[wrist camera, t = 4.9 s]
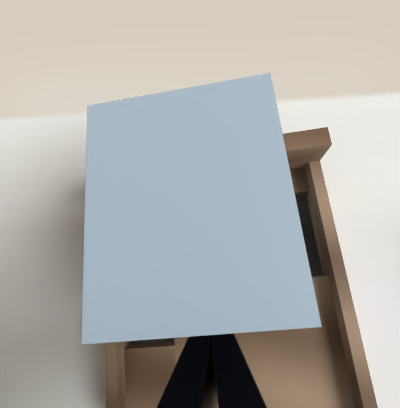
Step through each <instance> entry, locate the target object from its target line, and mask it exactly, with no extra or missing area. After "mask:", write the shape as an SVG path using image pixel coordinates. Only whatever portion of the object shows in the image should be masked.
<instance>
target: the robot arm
mask: <svg viewBox="0 0 400 408" xmlns="http://www.w3.org/2000/svg"><path fill="white" fill-rule="evenodd" d="M217 405H218V407H219V408H267V406H266V404H265V402H264V399H263V397H262V395H261V393H260V391H259V388H258V386H257V384H256V382H255V379H254V377H253V375H252V373H251V370H250V368H249V366H248V364H247V361H246V359H245V357H244V355H243V353H242V350H241V348H240V346H239V344H238V341H237V339H236V337H235V335H234V333H233V334H219V335H205V336H191V337H188V339H187V341H186V343H185V345H184V347H183V350H182V352H181V354H180V356H179V359H178V361H177V363H176V365H175V367H174V370H173V372H172V374H171V376H170V378H169V381H168V383H167V385H166V387H165V390H164V392H163V394H162V396H161V398H160V401H159V403H158V405H157V407H156V408H217Z"/></svg>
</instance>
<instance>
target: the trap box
mask: <svg viewBox="0 0 400 408" xmlns="http://www.w3.org/2000/svg"><path fill="white" fill-rule="evenodd" d="M283 139H284V144H285V149H286V153H287V158H288V163H289V168H290V173H291V178H292V183H293V188H294V193H295V198H296V203H297V207H298V212H299V217H300V222H301V227H302V232H303V237H304V242H305V247H306V252H307V257H308V262H309V266H310V271H311V276H312V281H313V286H314V291H315V296H316V301H317V306H318V311H319V316H320V320H321V325H322V327H315V328H301V329H287V330H274V331H260V332H246V333H234V335H235V337H236V339H237V341H238V344H239V346H240V348H241V350H242V353H243V355H244V357H245V359H246V361H247V364H248V366H249V368H250V370H251V373H252V375H253V377H254V379H255V382H256V384H257V386H258V388H259V391H260V393H261V395H262V397H263V399H264V402H265V404H266V406H267V408H378V407H377V403H376V399H375V394H374V390H373V386H372V382H371V377H370V373H369V369H368V365H367V360H366V356H365V352H364V347H363V343H362V339H361V335H360V330H359V326H358V322H357V318H356V313H355V309H354V305H353V301H352V296H351V292H350V288H349V284H348V279H347V275H346V271H345V267H344V262H343V258H342V254H341V249H340V245H339V241H338V237H337V232H336V228H335V224H334V220H333V215H332V211H331V207H330V203H329V198H328V194H327V190H326V186H325V181H324V177H323V173H322V169H321V164H320V159H321V158H322V157H323V155H324V154H325V153H326V152H327V150H328V149H329V148H330V146H331V145H332V143H331V139H330V135H329V131H328V127H326V128H319V129H312V130H306V131H299V132H293V133H286V134H283ZM187 339H188V337H178V338H164V339H150V340H137V341H123V342H109V343H106V408H156V407H157V405H158V403H159V401H160V398H161V396H162V394H163V392H164V390H165V387H166V385H167V383H168V381H169V378H170V376H171V374H172V372H173V370H174V367H175V365H176V363H177V361H178V359H179V356H180V354H181V352H182V350H183V347H184V345H185V343H186V341H187ZM217 408H219V407H218V405H217Z"/></svg>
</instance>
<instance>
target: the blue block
mask: <svg viewBox="0 0 400 408" xmlns="http://www.w3.org/2000/svg"><path fill="white" fill-rule="evenodd" d="M315 327H322V325H321V320H320V316H319V311H318V306H317V301H316V296H315V291H314V286H313V281H312V276H311V271H310V266H309V262H308V257H307V252H306V247H305V242H304V237H303V232H302V227H301V222H300V217H299V212H298V207H297V203H296V198H295V193H294V188H293V183H292V178H291V173H290V168H289V163H288V158H287V153H286V149H285V144H284V139H283V134H282V129H281V124H280V119H279V114H278V109H277V104H276V99H275V95H274V90H273V85H272V80H271V75H270V73H268V74H263V75H257V76H252V77H246V78H240V79H235V80H229V81H224V82H218V83H213V84H207V85H201V86H196V87H190V88H184V89H180V90H173V91H168V92H162V93H157V94H151V95H145V96H140V97H135V98H129V99H123V100H117V101H112V102H106V103H101V104H95V105H90V106H87V142H86V181H85V219H84V258H83V297H82V335H81V345H82V344H95V343H109V342H123V341H137V340H150V339H164V338H178V337H191V336H205V335H219V334H233V333H246V332H260V331H274V330H287V329H301V328H315Z"/></svg>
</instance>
